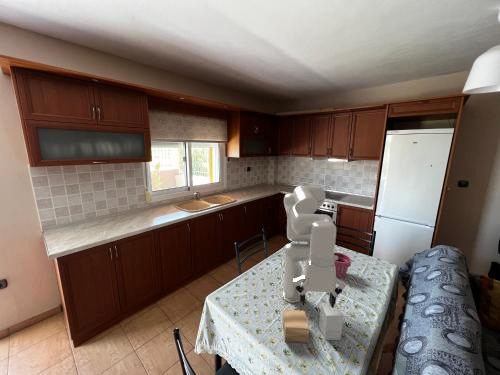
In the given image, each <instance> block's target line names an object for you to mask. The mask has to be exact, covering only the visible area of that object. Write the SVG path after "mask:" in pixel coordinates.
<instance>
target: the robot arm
mask: <svg viewBox="0 0 500 375" xmlns="http://www.w3.org/2000/svg"><path fill="white" fill-rule="evenodd" d="M325 200H326V191H325V189H324V188H323V187H321V186H320V185H299V186H297V187H295V188H294V190H293V192H292V193H286V194H285V195H284V197H283V205H284V209H285V212H286V217H287V219H286V222H287V223H286V236H287V239H288V240H289V241H291V243H287V244H285V245H284V246H283V256H284V269H283V270H284V271H283V272H284V274H283V288H281V289H280V297H281V298H282V299H283V300H284V301H286V302H288V303H293V304H294V303H295V304H297V303H301V304H302V306H303V307H305V305H306V293H308V292H315V293H316V292H319V293H329V295H328V296H329V297H328V298H329V299H328V302H329V303H328V304H330V305H331V307H332V308H334V304H336V305H337V303H336V302H337V298H338V297H339V295H340V294H342V293H343V291H344V289H345V288H346V286H347V285H346V283H345V281H342V280H341V279H340V278H336V269H335V263H334V260H338V256H335V255H334V252H335V249H336V248H335V247H336V246H335V245H336V239H337V226H336V225H335V224H334V221H333V220H334V219H332V217H331V216H330V215H328V214H324V213H321V214H319V213H315V212H316V211H317V210H318V209H319V208H320V207H321V206H322V205H323V204H324V202H325ZM301 242H302V243H301ZM305 242H306V243H305ZM300 262H305V264H304V268H302V265H301V264H300ZM302 271H303V272H302ZM302 273H303V274H302ZM302 283H303V284H302ZM336 285H338V286H336Z"/></svg>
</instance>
